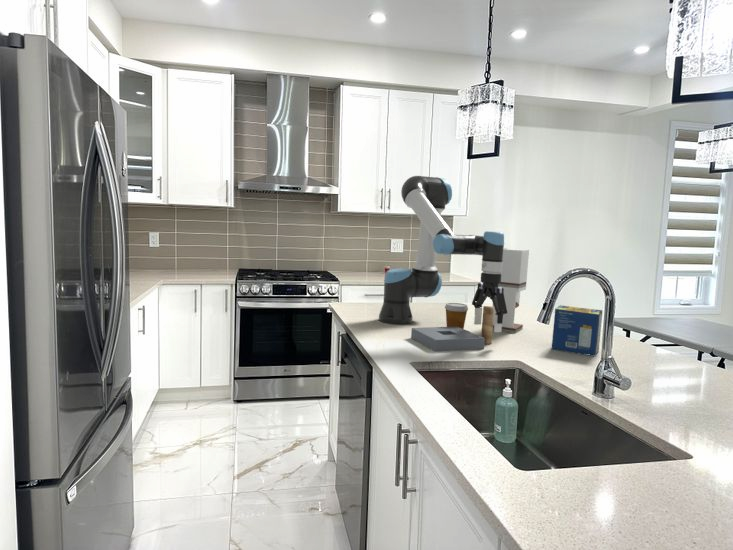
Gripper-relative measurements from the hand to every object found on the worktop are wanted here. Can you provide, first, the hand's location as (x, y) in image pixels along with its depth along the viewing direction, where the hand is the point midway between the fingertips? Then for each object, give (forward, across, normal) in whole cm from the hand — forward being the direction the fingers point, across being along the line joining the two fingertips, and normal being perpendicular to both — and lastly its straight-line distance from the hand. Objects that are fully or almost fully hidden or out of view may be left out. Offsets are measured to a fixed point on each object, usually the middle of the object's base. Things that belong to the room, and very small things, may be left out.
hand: (487, 328), depth 197 cm
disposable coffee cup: (+6, -17, -4) cm, 18 cm away
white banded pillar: (+6, -21, +24) cm, 32 cm away
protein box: (+6, +15, +29) cm, 33 cm away
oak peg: (+6, 0, 0) cm, 6 cm away
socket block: (+6, -2, -16) cm, 17 cm away
